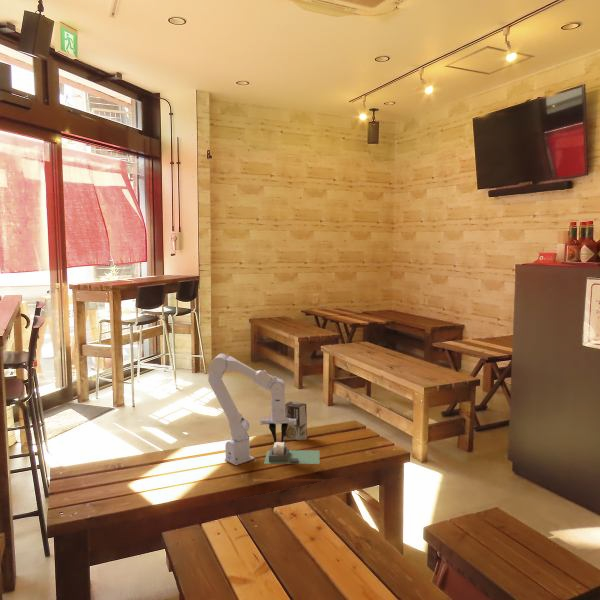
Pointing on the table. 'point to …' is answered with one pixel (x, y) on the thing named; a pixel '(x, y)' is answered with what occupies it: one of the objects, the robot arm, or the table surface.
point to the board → (293, 457)
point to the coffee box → (300, 414)
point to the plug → (278, 448)
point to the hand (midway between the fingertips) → (278, 441)
